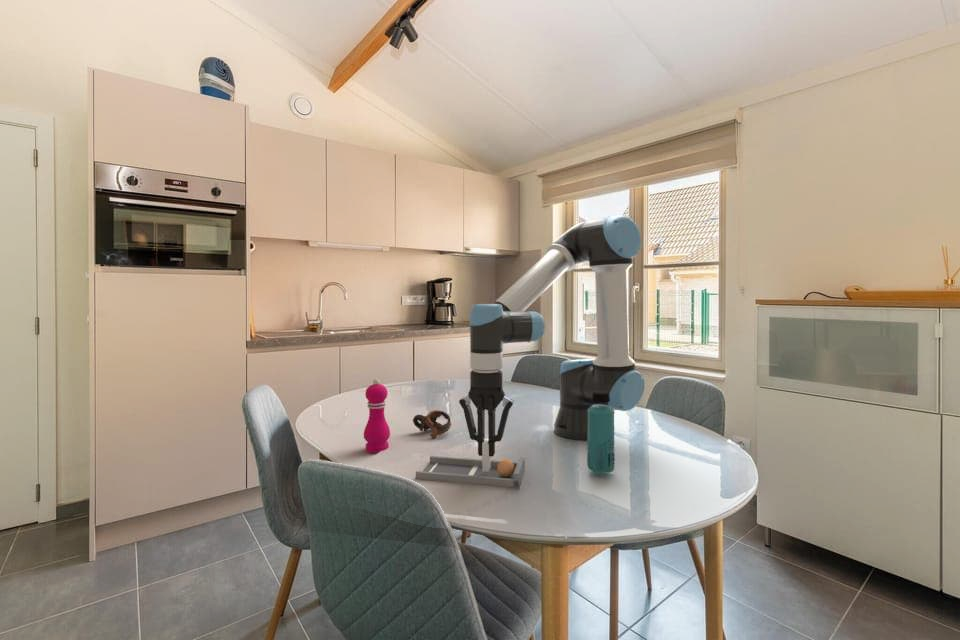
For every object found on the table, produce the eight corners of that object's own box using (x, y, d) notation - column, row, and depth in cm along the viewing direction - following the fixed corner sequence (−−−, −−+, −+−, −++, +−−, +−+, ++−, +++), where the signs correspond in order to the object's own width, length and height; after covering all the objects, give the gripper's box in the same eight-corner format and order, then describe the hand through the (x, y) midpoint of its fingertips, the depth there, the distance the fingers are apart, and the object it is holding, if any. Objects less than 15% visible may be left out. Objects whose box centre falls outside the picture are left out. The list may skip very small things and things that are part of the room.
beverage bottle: (610, 482, 103) (611, 395, 102) (582, 475, 107) (583, 392, 106) (617, 472, 109) (619, 390, 108) (591, 467, 112) (592, 387, 111)
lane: (524, 471, 110) (524, 456, 109) (518, 490, 99) (519, 474, 99) (430, 463, 115) (430, 449, 114) (415, 480, 104) (415, 465, 104)
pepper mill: (367, 455, 120) (366, 382, 119) (361, 447, 127) (360, 377, 126) (393, 451, 124) (392, 379, 123) (386, 444, 130) (385, 375, 129)
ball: (506, 476, 107) (518, 465, 106) (504, 483, 103) (516, 472, 102) (495, 463, 107) (507, 453, 107) (492, 470, 103) (504, 459, 103)
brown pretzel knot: (448, 429, 146) (454, 411, 142) (445, 451, 138) (451, 432, 134) (412, 421, 145) (417, 402, 141) (406, 442, 137) (411, 422, 133)
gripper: (516, 368, 107) (516, 465, 108) (463, 366, 110) (463, 461, 111) (511, 373, 100) (511, 477, 101) (455, 371, 102) (455, 473, 104)
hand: (486, 469), depth 106 cm, fingers closed
